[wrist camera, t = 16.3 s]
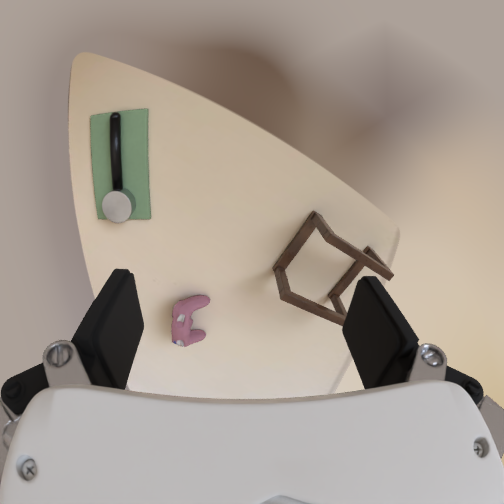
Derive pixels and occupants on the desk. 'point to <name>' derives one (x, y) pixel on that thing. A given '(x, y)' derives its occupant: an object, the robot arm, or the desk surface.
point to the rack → (362, 259)
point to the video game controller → (187, 320)
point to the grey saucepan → (117, 179)
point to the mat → (132, 159)
